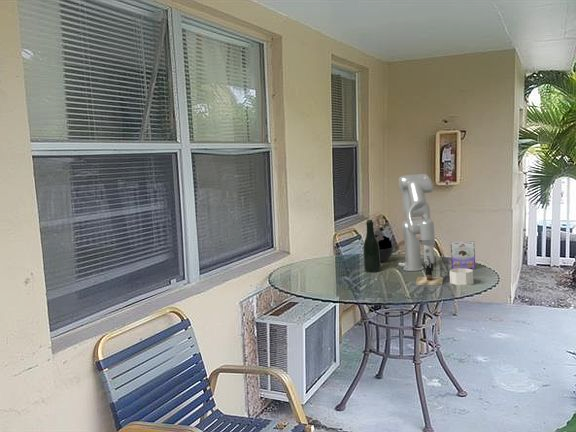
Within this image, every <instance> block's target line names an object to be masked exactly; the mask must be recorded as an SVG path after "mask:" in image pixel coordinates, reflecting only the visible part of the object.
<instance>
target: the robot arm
mask: <svg viewBox="0 0 576 432" xmlns="http://www.w3.org/2000/svg"><path fill="white" fill-rule="evenodd" d="M398 187H399V190H400V192H401V195H402V207H403V208H402V209H403V215H404V216H405V218H406V219H405V220H403V221H402V224H401V229H402V234H403V240H404V241H403V243H404V245H403V246H404V257H405V258H404V259H405V261H404V262H398V266H399V267H402V270H403V271H409V272H418V271H423V270H425V271H424V272H425V275H432V276H433V272H434V263H435V262H436V261H435V249H434V246H435V245H436V239H435V224H434V221H433V220H432V219H431V210H430V205H429V203H428V202H427V200H426V195H425V194H429V193H433V191H434V183H433V180H432V179H431V178H430V177H429V176H428V174H426V173H418V174H417V173H416V174H405V175H402V176H400V177H399V178H398ZM420 217H421V218H420ZM417 235H419V236H420V239H419V238H418V237H417ZM421 246H422V247H423V248H422V249H423V251H422V253H423V261H424V264H425V266H423V265H422V261H421V259H422V258H421V256H422V255H421ZM424 267H425V269H424Z"/></svg>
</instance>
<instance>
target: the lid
mask: <svg viewBox="0 0 576 432" xmlns="http://www.w3.org/2000/svg"><path fill="white" fill-rule="evenodd" d="M425 275H426V274H425ZM443 279H444V276H433V274H432V275H426V276H418V277H417V280H416V285H442V283H443Z"/></svg>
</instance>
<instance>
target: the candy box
mask: <svg viewBox="0 0 576 432" xmlns="http://www.w3.org/2000/svg"><path fill="white" fill-rule="evenodd" d="M450 252H451V253H450V256H451V269H456V268H467V269H472V270H476V251H475V241H450Z"/></svg>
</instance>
